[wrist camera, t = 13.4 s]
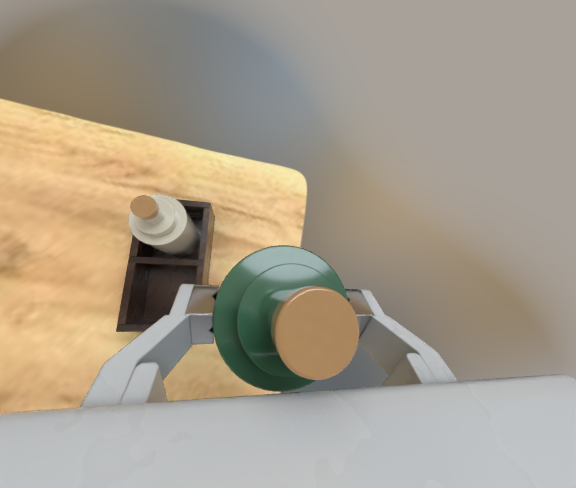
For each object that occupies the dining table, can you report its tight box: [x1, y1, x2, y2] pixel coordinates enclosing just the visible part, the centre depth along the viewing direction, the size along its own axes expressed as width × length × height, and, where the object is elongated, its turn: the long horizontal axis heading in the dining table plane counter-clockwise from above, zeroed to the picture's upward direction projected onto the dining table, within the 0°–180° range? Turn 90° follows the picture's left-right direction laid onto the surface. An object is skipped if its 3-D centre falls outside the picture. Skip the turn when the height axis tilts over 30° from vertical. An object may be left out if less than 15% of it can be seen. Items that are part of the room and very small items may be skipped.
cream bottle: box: [128, 194, 201, 258], centre depth 26 cm, size 6×6×14 cm
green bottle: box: [213, 245, 359, 392], centre depth 12 cm, size 6×6×14 cm
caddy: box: [116, 199, 215, 332], centre depth 30 cm, size 16×9×6 cm, turn 179°
